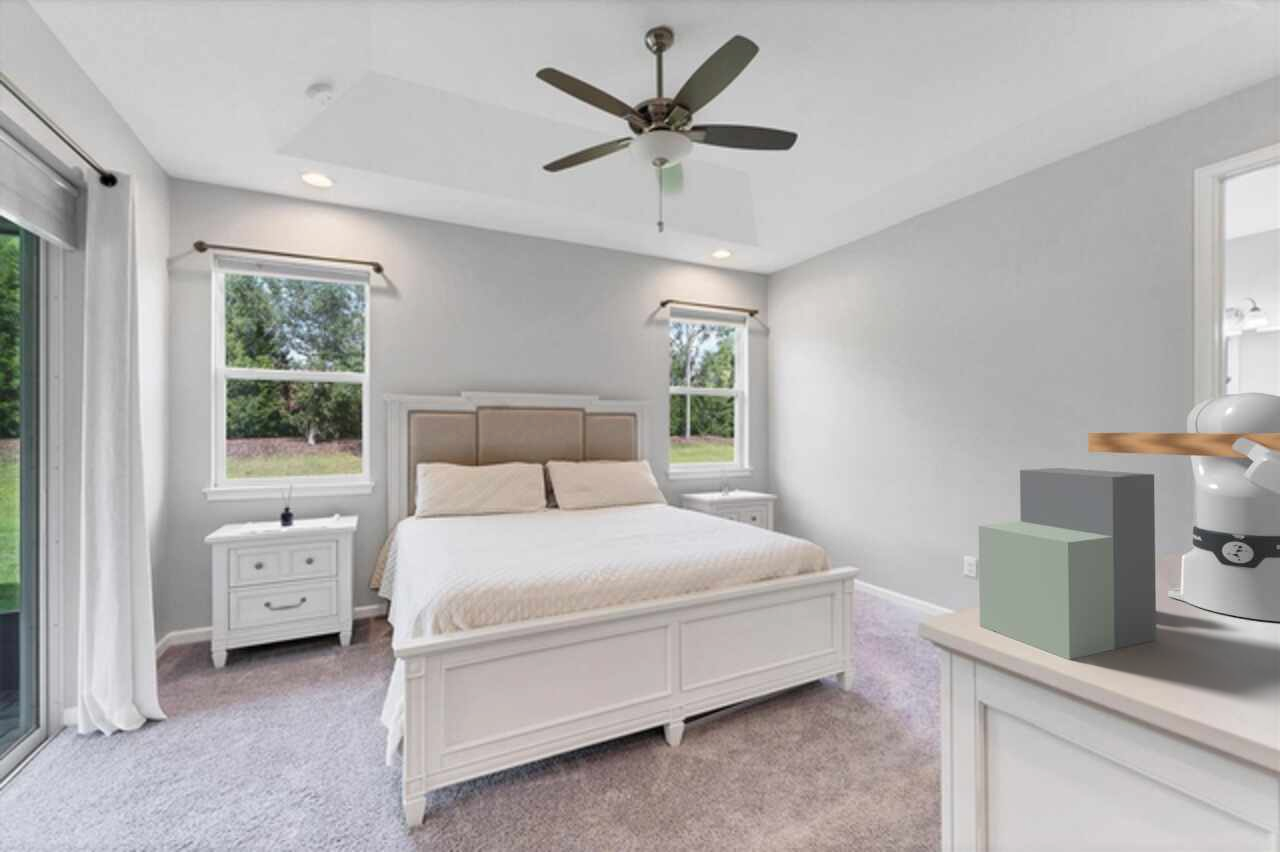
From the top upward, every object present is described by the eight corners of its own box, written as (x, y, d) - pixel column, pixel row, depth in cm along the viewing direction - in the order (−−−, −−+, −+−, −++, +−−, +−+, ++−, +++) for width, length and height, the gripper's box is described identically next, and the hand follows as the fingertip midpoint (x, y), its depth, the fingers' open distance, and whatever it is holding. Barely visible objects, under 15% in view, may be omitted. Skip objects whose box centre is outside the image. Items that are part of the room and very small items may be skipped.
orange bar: (1302, 457, 67) (1302, 433, 67) (1289, 458, 66) (1289, 434, 66) (1101, 450, 88) (1100, 432, 88) (1088, 451, 87) (1088, 433, 87)
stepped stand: (1156, 639, 85) (1154, 474, 85) (1069, 659, 78) (1067, 480, 78) (1060, 611, 98) (1059, 467, 98) (979, 626, 91) (977, 472, 91)
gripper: (1330, 537, 57) (1184, 465, 68) (1419, 522, 64) (1273, 458, 75) (1377, 489, 54) (1216, 422, 65) (1466, 478, 61) (1306, 419, 72)
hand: (1247, 441), depth 70 cm, fingers closed on orange bar, 3 cm apart
